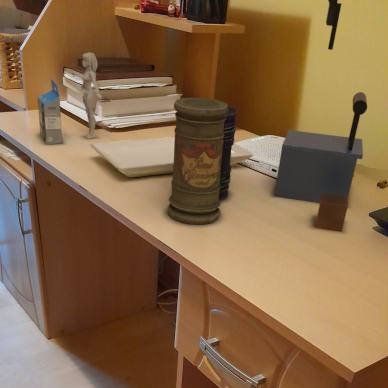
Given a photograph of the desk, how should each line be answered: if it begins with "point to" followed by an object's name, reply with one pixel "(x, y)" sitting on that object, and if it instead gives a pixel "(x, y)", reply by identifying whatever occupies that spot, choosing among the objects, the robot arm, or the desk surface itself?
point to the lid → (331, 137)
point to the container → (197, 160)
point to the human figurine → (90, 90)
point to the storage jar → (227, 152)
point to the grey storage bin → (313, 175)
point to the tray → (150, 155)
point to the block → (331, 212)
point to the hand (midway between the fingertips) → (370, 53)
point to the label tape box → (50, 116)
